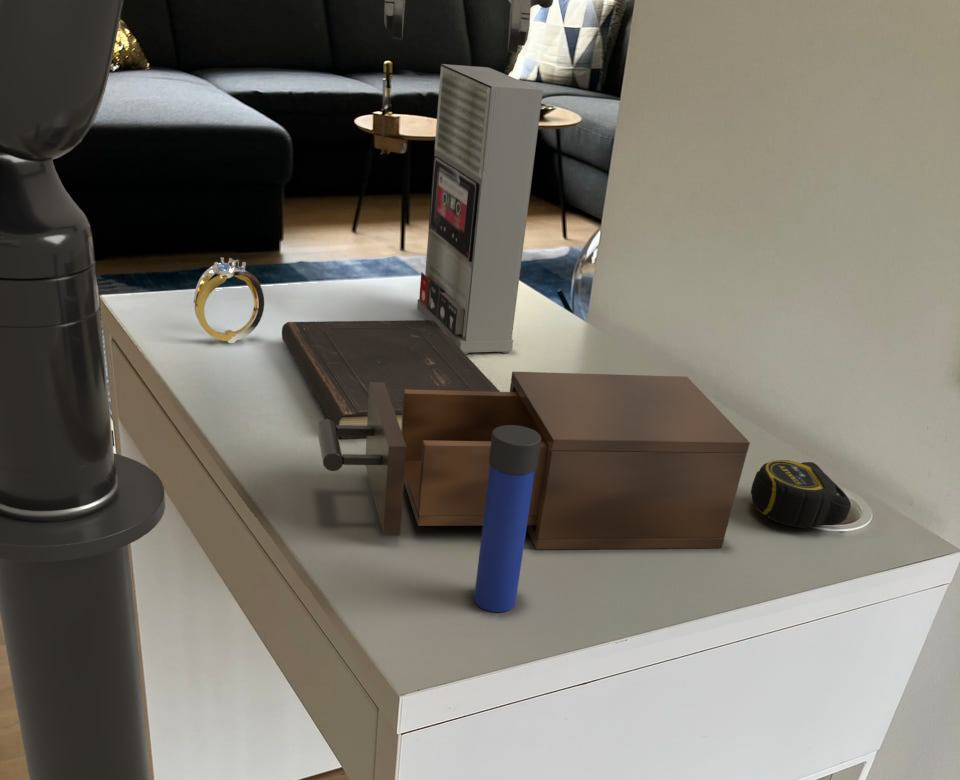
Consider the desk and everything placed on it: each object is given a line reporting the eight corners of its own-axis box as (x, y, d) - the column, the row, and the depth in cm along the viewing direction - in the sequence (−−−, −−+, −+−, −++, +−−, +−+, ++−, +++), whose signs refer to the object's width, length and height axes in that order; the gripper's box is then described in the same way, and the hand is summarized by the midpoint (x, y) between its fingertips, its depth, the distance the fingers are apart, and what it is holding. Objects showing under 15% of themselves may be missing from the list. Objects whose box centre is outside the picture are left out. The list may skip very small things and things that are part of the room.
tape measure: (845, 537, 85) (859, 495, 82) (765, 536, 83) (777, 493, 81) (809, 497, 90) (822, 457, 88) (734, 495, 89) (745, 454, 87)
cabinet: (536, 549, 78) (553, 439, 73) (499, 472, 88) (512, 371, 83) (722, 548, 81) (750, 442, 76) (665, 473, 91) (687, 376, 86)
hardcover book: (432, 341, 112) (433, 319, 111) (511, 430, 95) (514, 406, 94) (281, 344, 107) (281, 321, 106) (336, 439, 90) (337, 413, 88)
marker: (477, 613, 70) (497, 444, 63) (468, 589, 72) (487, 424, 65) (521, 613, 70) (546, 445, 64) (511, 589, 73) (535, 425, 66)
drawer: (324, 535, 74) (327, 445, 70) (312, 463, 83) (314, 380, 79) (566, 534, 78) (581, 448, 74) (529, 465, 87) (541, 386, 83)
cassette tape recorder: (414, 311, 120) (432, 63, 106) (465, 311, 122) (489, 67, 108) (457, 355, 110) (483, 86, 96) (511, 353, 112) (544, 90, 98)
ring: (257, 333, 109) (256, 253, 104) (269, 344, 107) (269, 263, 102) (190, 339, 106) (186, 256, 101) (201, 350, 103) (197, 266, 99)
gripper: (374, -209, 76) (357, -14, 74) (570, -184, 78) (560, 10, 75) (375, -118, 84) (359, 63, 81) (554, -96, 85) (544, 84, 82)
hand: (456, 38), depth 78 cm, fingers open, 8 cm apart
